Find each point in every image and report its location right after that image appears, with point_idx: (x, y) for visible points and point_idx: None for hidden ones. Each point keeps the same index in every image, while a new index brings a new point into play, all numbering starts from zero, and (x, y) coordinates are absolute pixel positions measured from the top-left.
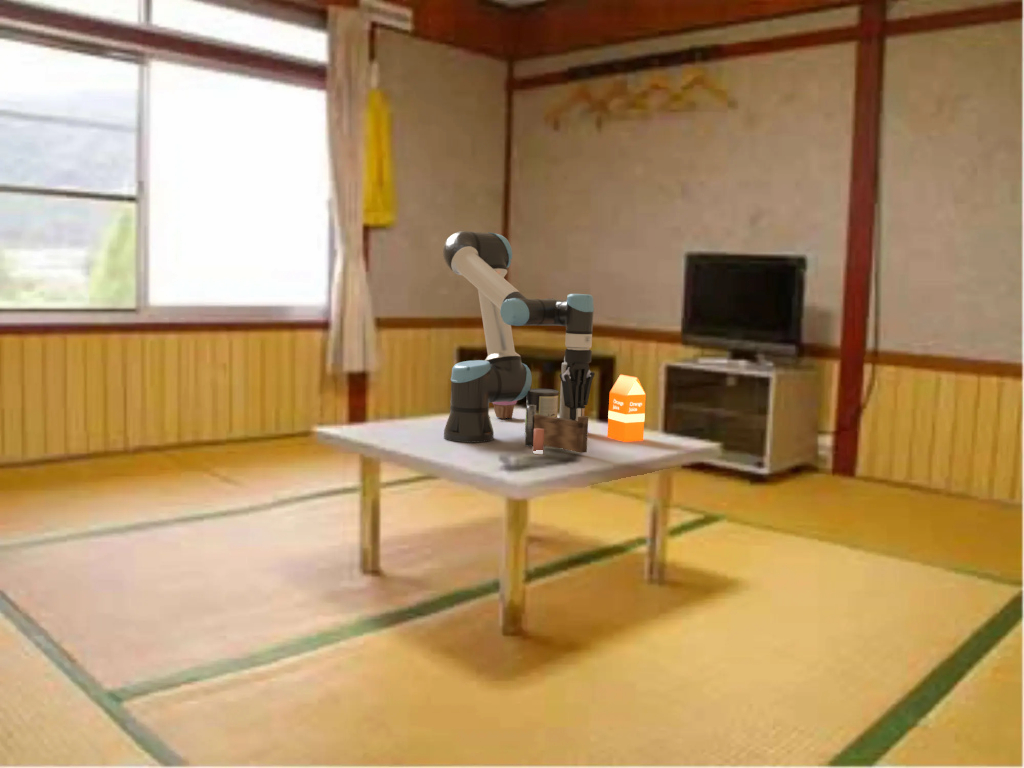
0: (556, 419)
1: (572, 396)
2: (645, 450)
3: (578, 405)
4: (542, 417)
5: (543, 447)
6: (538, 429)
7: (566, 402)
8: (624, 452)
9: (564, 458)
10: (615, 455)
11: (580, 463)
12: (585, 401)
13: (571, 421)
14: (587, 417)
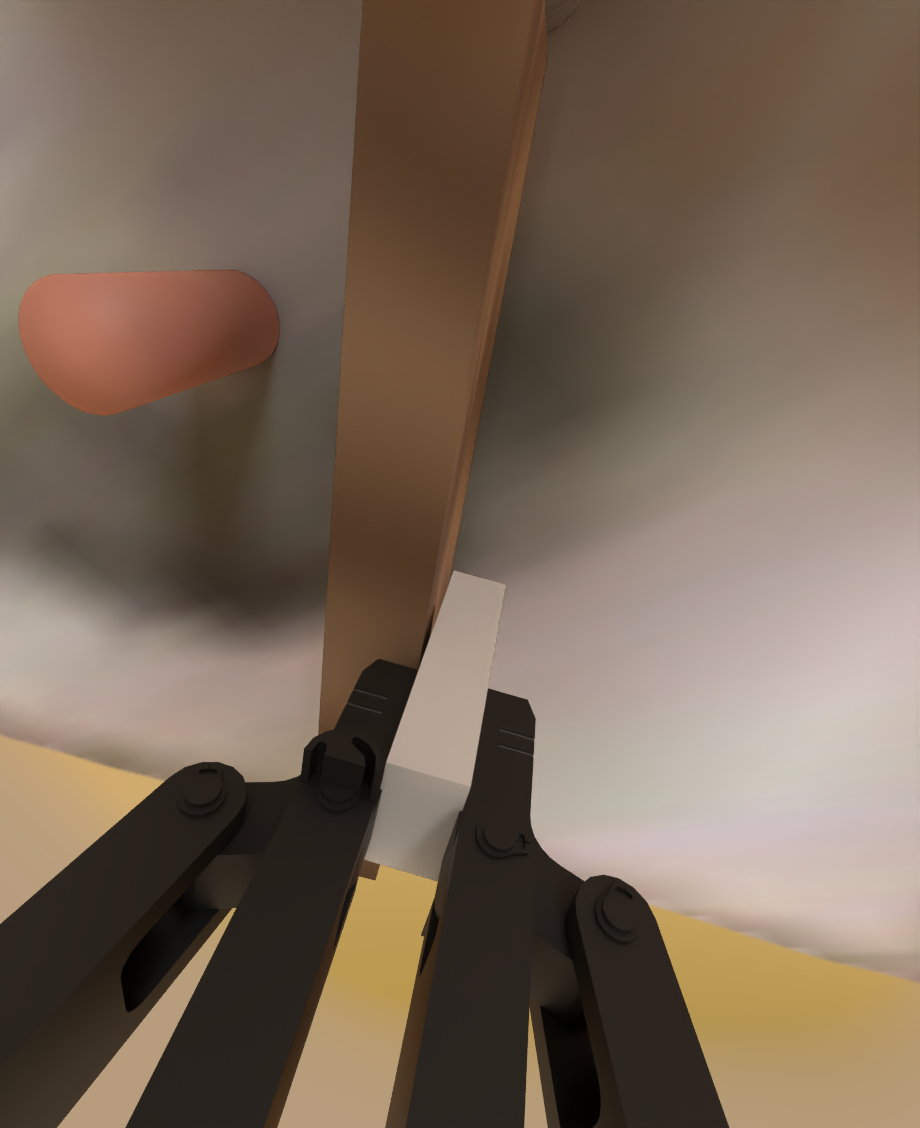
0: (334, 475)
1: (88, 1071)
2: (875, 838)
3: (437, 890)
4: (357, 145)
5: (228, 374)
6: (61, 354)
7: (159, 839)
8: (722, 765)
9: (258, 555)
10: (582, 749)
11: (220, 673)
12: (538, 1030)
13: (321, 690)
14: (359, 874)
